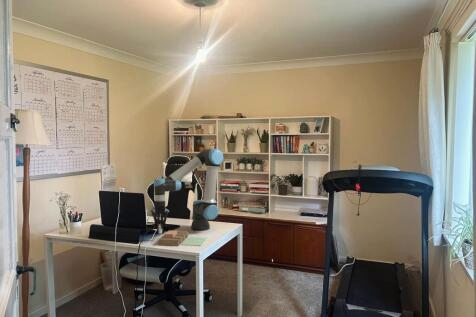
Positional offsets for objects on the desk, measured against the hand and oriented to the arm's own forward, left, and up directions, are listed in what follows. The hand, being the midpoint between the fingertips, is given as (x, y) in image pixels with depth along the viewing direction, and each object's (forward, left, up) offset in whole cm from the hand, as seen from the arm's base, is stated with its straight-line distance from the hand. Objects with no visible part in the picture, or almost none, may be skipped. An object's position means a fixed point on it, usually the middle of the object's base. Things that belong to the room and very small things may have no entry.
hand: (160, 233), depth 248 cm
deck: (0, +10, -5) cm, 11 cm away
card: (0, +8, -1) cm, 8 cm away
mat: (0, +25, -5) cm, 25 cm away
